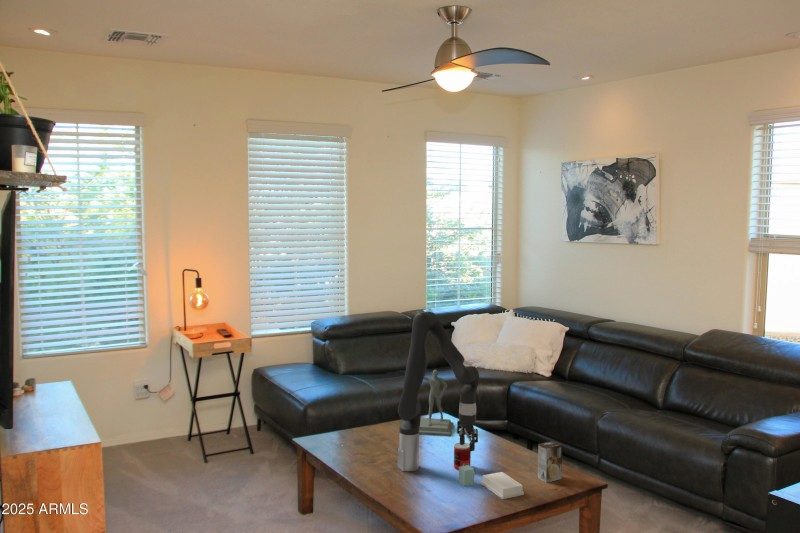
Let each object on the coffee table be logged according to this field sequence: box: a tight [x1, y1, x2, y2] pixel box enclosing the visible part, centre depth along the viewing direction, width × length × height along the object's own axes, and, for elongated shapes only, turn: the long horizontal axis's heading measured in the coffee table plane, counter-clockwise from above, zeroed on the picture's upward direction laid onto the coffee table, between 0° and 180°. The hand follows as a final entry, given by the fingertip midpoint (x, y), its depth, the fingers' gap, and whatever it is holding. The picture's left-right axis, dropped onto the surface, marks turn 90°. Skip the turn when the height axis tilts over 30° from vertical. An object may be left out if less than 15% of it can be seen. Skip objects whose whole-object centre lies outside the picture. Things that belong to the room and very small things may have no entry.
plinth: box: [480, 471, 525, 500], centre depth 288 cm, size 11×17×4 cm, turn 24°
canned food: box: [453, 442, 472, 471], centre depth 312 cm, size 8×8×11 cm
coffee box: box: [537, 440, 563, 483], centre depth 299 cm, size 9×6×16 cm
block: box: [458, 465, 475, 487], centre depth 294 cm, size 5×5×7 cm
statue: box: [419, 369, 455, 437], centre depth 365 cm, size 20×19×36 cm
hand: (467, 447), depth 293 cm, fingers open, 8 cm apart
